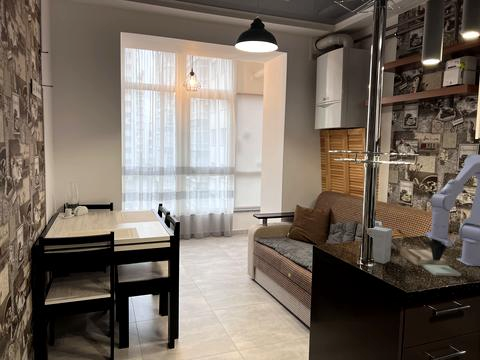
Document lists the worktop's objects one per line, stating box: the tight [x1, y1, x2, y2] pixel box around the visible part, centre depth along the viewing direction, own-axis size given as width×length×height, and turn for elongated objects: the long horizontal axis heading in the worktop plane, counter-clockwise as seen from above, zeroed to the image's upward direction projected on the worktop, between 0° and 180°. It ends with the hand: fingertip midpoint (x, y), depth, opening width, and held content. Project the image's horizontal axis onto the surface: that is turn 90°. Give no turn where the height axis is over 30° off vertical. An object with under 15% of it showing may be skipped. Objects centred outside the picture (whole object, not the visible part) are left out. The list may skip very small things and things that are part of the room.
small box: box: [366, 226, 393, 265], centre depth 144 cm, size 8×6×13 cm
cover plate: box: [420, 263, 462, 277], centre depth 135 cm, size 9×10×2 cm
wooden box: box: [399, 246, 451, 267], centre depth 147 cm, size 13×14×4 cm
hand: (436, 259), depth 138 cm, fingers closed
